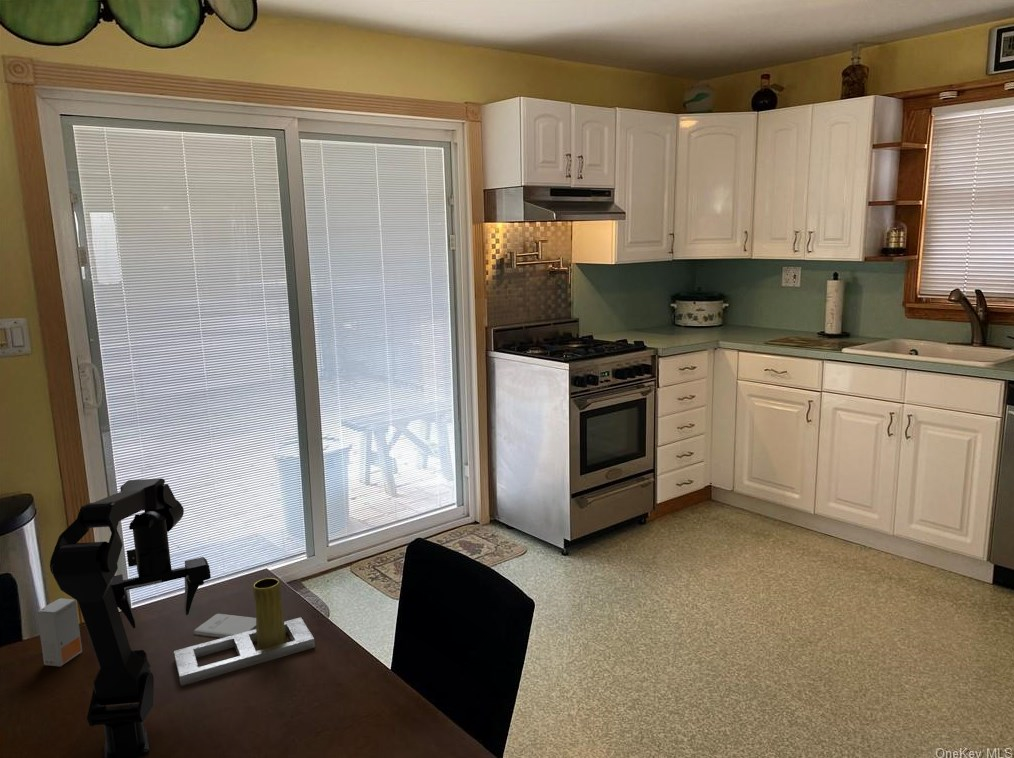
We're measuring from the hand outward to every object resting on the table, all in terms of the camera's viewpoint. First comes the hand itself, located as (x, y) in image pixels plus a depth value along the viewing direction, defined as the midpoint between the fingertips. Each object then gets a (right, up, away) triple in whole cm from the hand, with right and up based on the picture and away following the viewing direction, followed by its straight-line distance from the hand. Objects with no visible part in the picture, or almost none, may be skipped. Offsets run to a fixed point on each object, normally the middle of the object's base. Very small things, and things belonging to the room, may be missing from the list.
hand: (161, 620), depth 141 cm
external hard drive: (+5, -10, +23) cm, 26 cm away
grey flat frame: (+12, -11, +12) cm, 20 cm away
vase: (+17, -10, +15) cm, 24 cm away
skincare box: (-26, -12, +12) cm, 31 cm away
